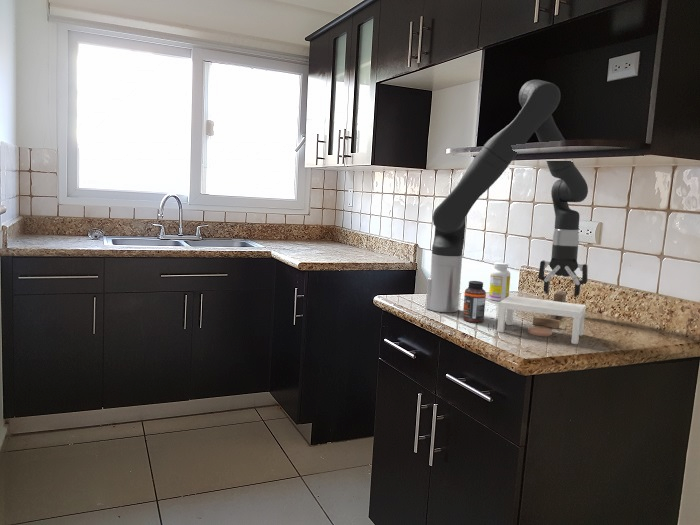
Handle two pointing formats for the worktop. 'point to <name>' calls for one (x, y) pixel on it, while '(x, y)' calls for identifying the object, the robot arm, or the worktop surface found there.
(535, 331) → the terracotta coaster
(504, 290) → the supplement bottle
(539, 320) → the walnut push stick
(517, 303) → the white shelf
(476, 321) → the supplement bottle
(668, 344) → the worktop surface
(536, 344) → the worktop surface
